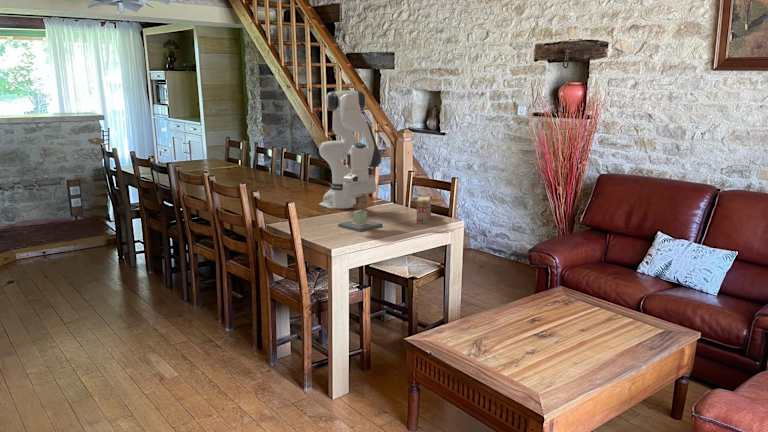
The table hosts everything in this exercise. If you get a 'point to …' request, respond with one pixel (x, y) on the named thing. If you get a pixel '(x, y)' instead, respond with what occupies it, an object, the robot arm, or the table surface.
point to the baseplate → (360, 227)
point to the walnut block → (360, 202)
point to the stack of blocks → (423, 210)
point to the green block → (360, 217)
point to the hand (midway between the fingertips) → (360, 203)
